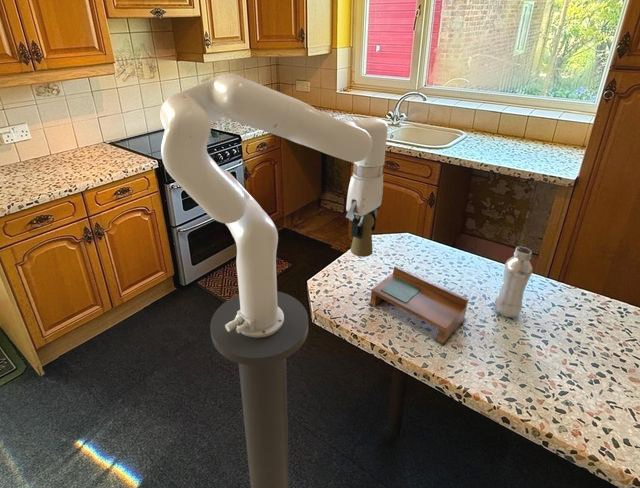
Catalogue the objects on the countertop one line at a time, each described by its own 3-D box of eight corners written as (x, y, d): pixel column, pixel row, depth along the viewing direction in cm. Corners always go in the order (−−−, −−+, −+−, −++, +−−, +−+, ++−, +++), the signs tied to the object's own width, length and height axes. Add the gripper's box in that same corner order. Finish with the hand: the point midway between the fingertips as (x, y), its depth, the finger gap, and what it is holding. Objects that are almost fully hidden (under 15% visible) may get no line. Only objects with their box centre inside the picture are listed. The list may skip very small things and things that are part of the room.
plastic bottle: (506, 323, 105) (525, 260, 97) (487, 307, 111) (503, 246, 102) (524, 317, 108) (544, 254, 99) (505, 301, 113) (522, 241, 104)
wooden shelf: (443, 344, 99) (447, 322, 96) (370, 303, 112) (371, 283, 109) (463, 320, 107) (468, 299, 103) (393, 284, 120) (395, 265, 117)
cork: (348, 254, 107) (350, 218, 103) (352, 243, 113) (355, 208, 108) (370, 258, 106) (374, 222, 101) (374, 247, 111) (377, 212, 106)
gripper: (375, 157, 107) (369, 217, 115) (334, 174, 95) (332, 239, 103) (399, 164, 102) (392, 226, 110) (360, 183, 91) (355, 250, 99)
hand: (363, 232), depth 107 cm, fingers closed on cork, 5 cm apart
